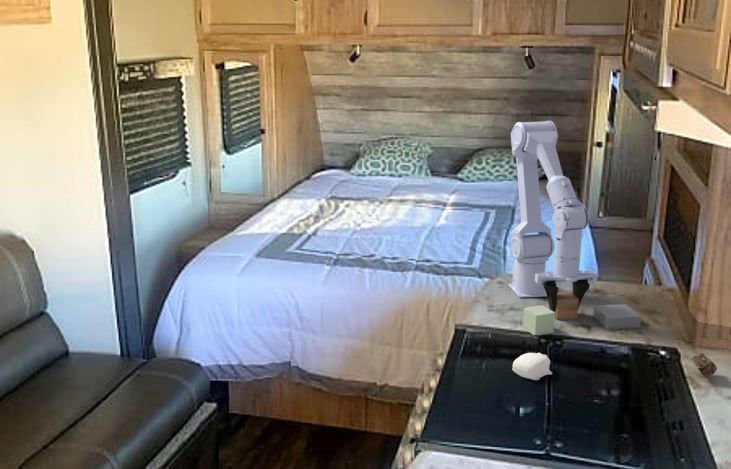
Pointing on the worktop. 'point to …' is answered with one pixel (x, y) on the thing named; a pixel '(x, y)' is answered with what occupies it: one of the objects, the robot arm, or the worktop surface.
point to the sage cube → (538, 320)
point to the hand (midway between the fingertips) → (563, 309)
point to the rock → (704, 365)
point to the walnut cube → (566, 306)
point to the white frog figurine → (532, 366)
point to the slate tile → (616, 316)
